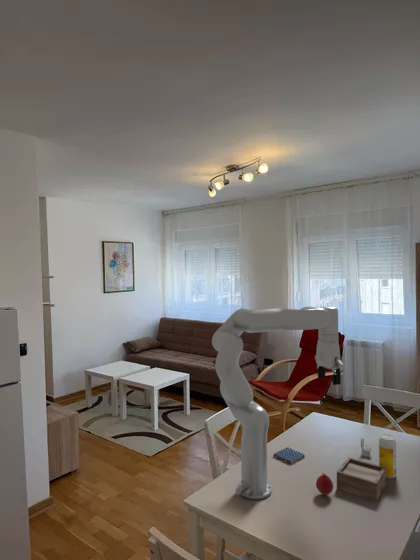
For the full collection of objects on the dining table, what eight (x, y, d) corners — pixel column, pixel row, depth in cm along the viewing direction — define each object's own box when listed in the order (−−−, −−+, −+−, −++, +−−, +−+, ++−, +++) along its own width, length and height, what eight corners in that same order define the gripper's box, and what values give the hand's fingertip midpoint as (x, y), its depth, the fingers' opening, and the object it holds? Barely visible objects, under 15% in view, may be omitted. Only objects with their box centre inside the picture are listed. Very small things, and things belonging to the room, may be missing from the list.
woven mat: (271, 457, 166) (271, 453, 166) (287, 450, 173) (287, 446, 173) (290, 466, 158) (290, 462, 158) (306, 458, 165) (306, 454, 165)
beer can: (381, 469, 154) (381, 432, 154) (398, 474, 150) (397, 436, 150) (377, 475, 149) (377, 437, 149) (394, 480, 145) (393, 441, 145)
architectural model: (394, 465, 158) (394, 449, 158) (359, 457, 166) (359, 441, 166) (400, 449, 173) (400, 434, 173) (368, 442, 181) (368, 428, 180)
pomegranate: (329, 490, 139) (329, 468, 139) (335, 499, 134) (335, 477, 134) (314, 491, 139) (313, 469, 139) (319, 500, 133) (319, 477, 133)
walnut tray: (376, 501, 132) (376, 483, 132) (336, 488, 141) (336, 471, 141) (386, 483, 144) (386, 467, 143) (348, 472, 152) (348, 457, 152)
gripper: (307, 335, 157) (308, 376, 157) (333, 342, 141) (334, 388, 141) (323, 334, 159) (323, 375, 160) (350, 340, 143) (351, 386, 143)
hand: (328, 381), depth 150 cm, fingers open, 9 cm apart
